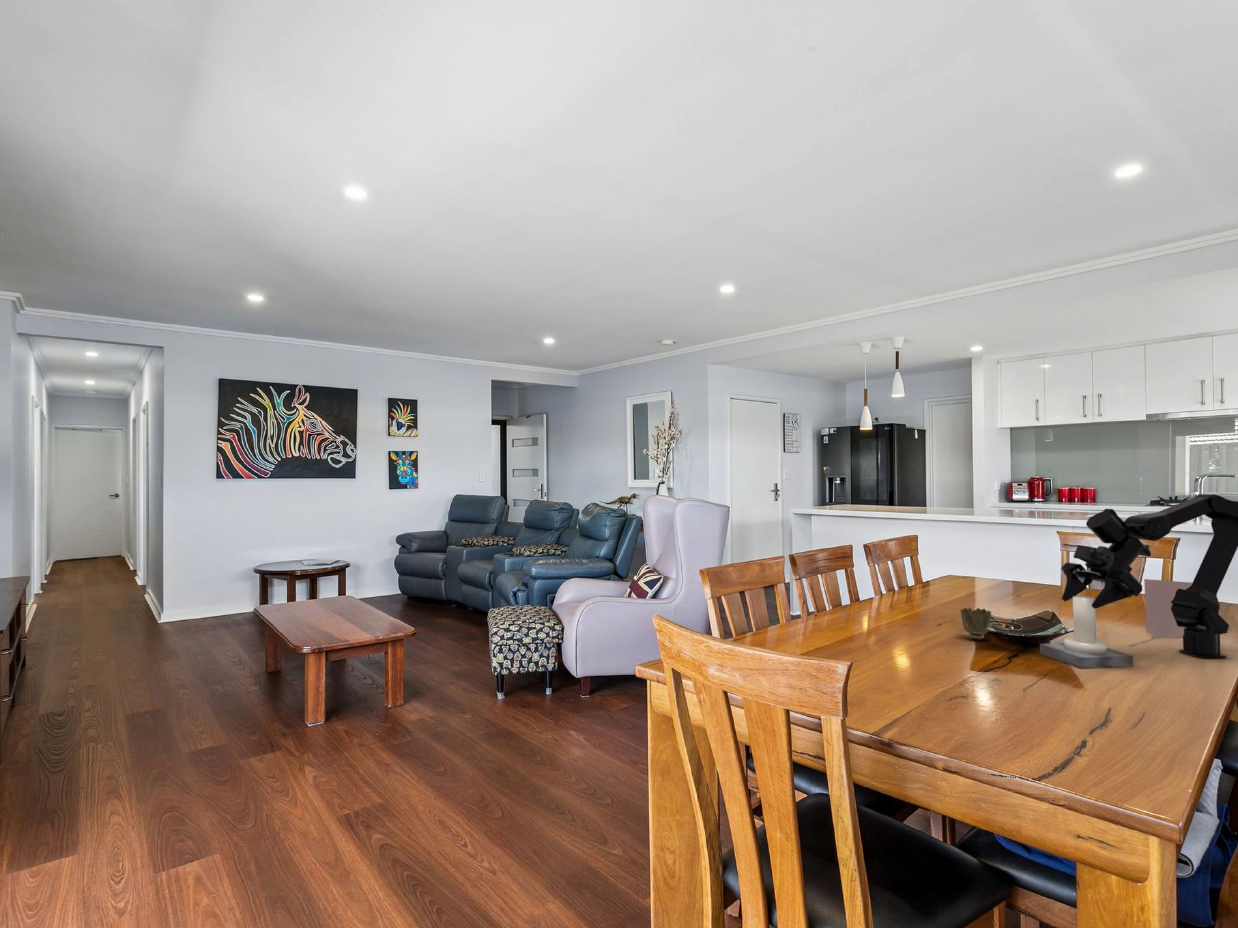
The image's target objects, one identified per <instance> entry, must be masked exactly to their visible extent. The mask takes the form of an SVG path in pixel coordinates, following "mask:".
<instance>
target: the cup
mask: <svg viewBox="0 0 1238 928" xmlns="http://www.w3.org/2000/svg"><path fill="white" fill-rule="evenodd" d="M960 616H961V623H962V626H963V629H964V630H965V632H967V633H968V638H969V639H970V638H971V639H970V640H972V639H976V640H975V641H983V640H984V639H985V634H987V633H988V631H989V630H988V631H987V628H988V627H989V626H990V625H991V617H992V611H991V610H990V609H988V610H987V609H985V608H981V609H980V608H979V607H977V608H976V610H972V608H971V607H968V608H966V607H963V609H962V608H960ZM990 627H991V626H990ZM990 627H989V628H990ZM982 639H983V640H982Z"/></svg>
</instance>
